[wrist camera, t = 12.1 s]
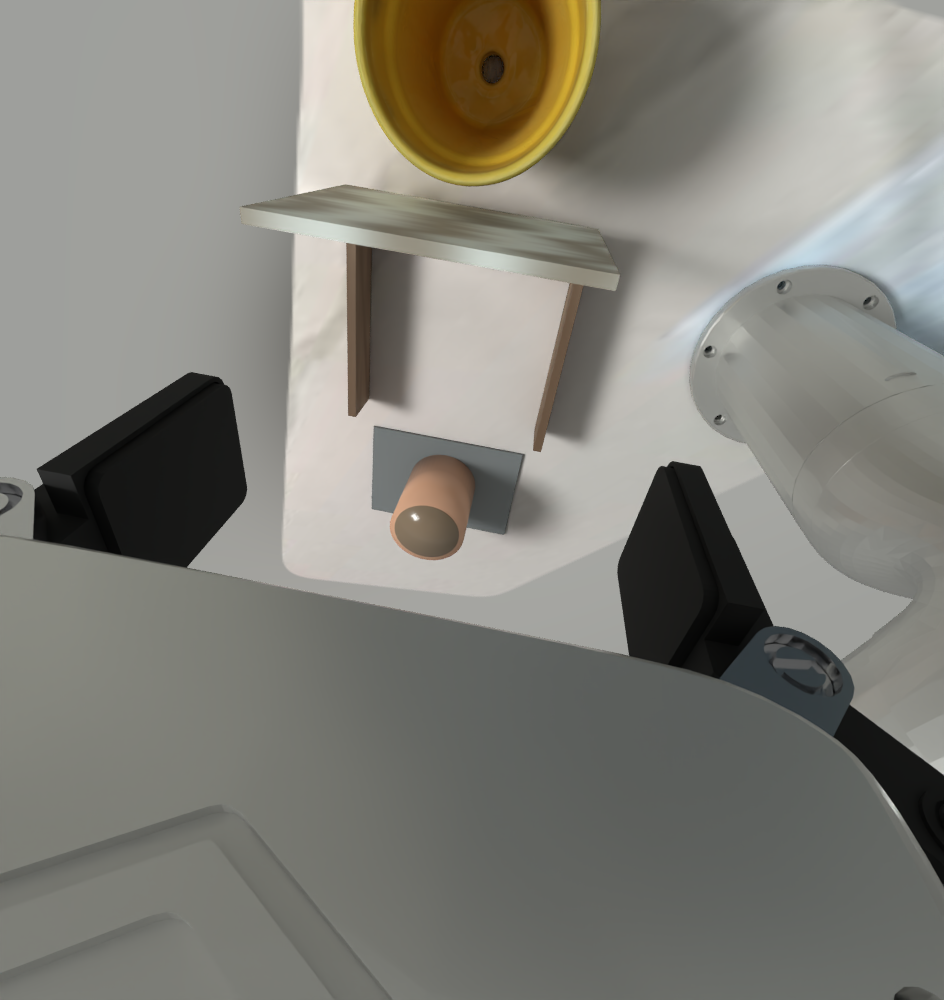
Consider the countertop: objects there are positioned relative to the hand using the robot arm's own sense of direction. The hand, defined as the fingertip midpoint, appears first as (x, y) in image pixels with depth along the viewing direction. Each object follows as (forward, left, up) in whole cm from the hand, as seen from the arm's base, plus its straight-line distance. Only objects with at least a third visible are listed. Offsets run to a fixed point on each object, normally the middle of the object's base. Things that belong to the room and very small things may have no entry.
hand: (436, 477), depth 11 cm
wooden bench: (+3, +5, -28) cm, 29 cm away
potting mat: (+3, +20, -28) cm, 35 cm away
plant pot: (+3, -9, -28) cm, 30 cm away
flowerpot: (+3, +20, -28) cm, 35 cm away
